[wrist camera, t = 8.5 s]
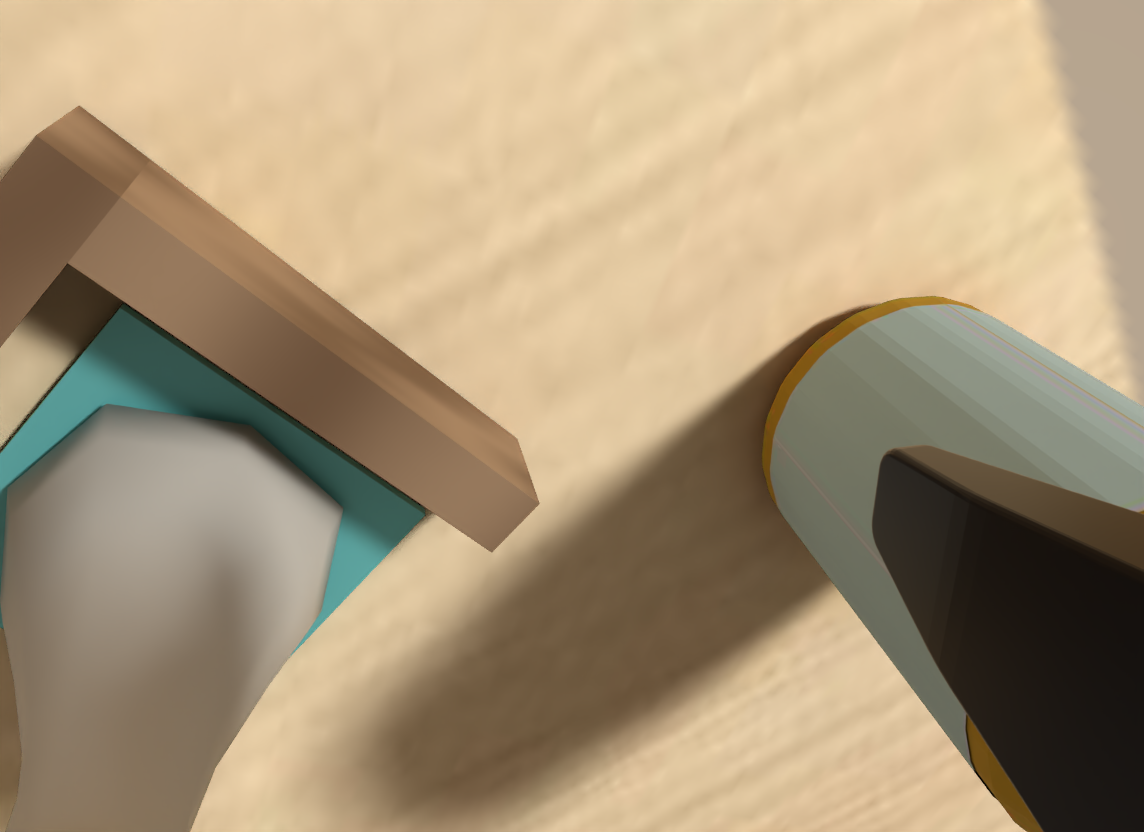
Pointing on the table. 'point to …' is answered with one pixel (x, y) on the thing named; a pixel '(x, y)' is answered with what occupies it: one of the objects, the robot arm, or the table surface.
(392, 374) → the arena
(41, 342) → the table surface
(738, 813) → the table surface
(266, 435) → the pad
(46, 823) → the flask
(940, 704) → the bottle
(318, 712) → the table surface
